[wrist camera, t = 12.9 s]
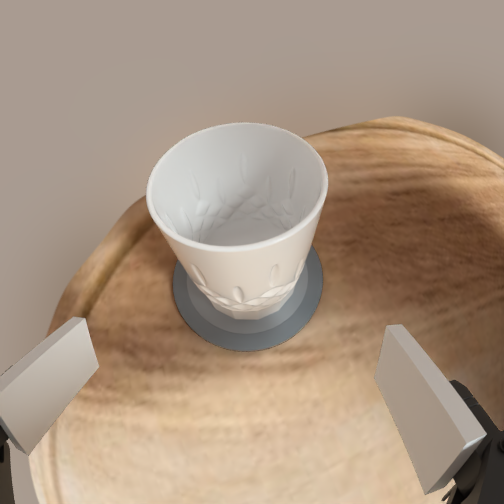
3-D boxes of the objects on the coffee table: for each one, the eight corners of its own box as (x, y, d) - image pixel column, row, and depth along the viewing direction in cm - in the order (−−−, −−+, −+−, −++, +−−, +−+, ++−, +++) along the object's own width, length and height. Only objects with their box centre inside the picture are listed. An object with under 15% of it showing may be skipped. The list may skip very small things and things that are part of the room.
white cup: (292, 340, 18) (317, 271, 9) (179, 313, 19) (114, 230, 10) (311, 241, 21) (332, 132, 13) (213, 223, 23) (188, 118, 14)
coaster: (312, 217, 23) (313, 212, 23) (328, 348, 18) (330, 346, 17) (184, 221, 24) (182, 216, 23) (168, 349, 18) (164, 347, 18)
